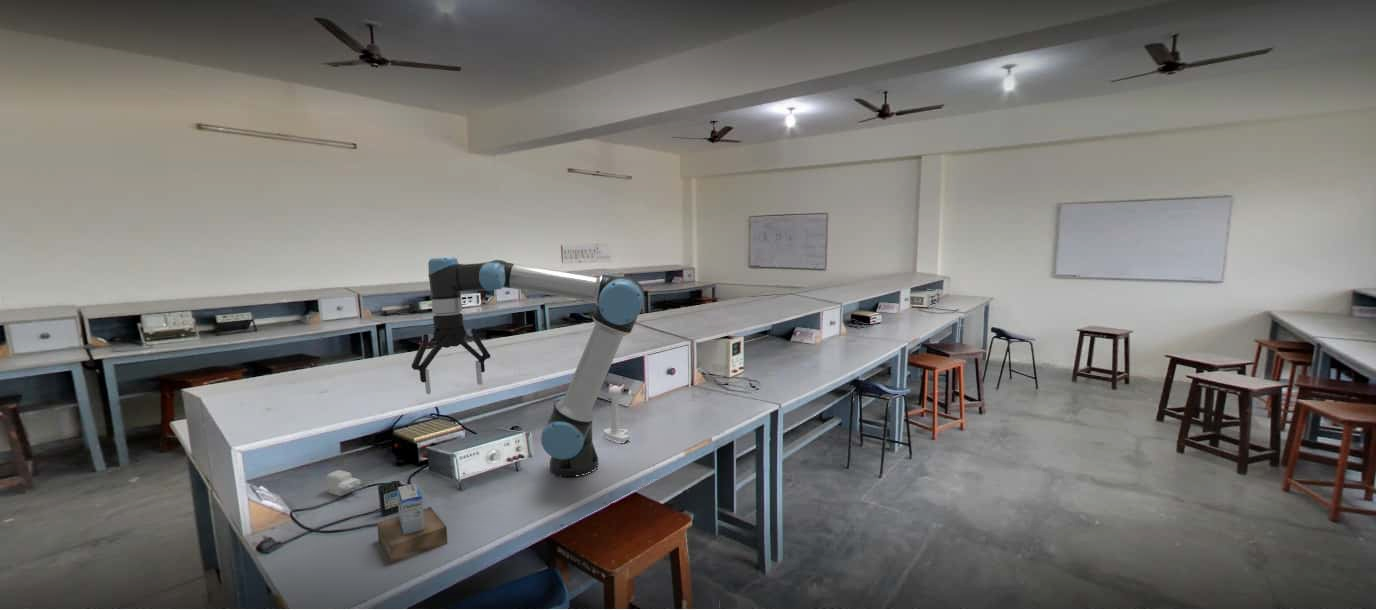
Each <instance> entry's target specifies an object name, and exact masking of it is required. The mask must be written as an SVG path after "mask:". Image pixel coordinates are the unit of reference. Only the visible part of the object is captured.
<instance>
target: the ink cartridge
mask: <svg viewBox="0 0 1376 610" xmlns="http://www.w3.org/2000/svg"><path fill="white" fill-rule="evenodd" d="M401 486H402V484H401V481H400V480H399V479H398V480H392V481H391V482H387V483H382V484H380V485H378V486H377V487H378V488H377V491H378V492H377V493H378V499H379V508H380V509H379V510H380V513H381V515H382V517H387V516H390V515H394V514H396V513H399V510H398V493H397V488H398V487H401Z"/></svg>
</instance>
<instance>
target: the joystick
mask: <svg viewBox="0 0 1376 610" xmlns="http://www.w3.org/2000/svg"><path fill="white" fill-rule="evenodd" d="M621 394H622V389H621V388H620V386H619V385H611V386H610V387H609V389H608V395H609V397H610V398H611V407H610V408H611V413H610V427H608V428H605V429H603V431H602V432H603V433H602V434H603V435H604V436H606V437H608V438H610V439H612V440H616V441H621V442H624V441H626V442H628V441H627V440H629V439H630V440H631V438H630V437H631V436H630V435H629V434H628V433H629V431H628V429H626V428H621V427H620V425H621V424H620V409H619V397H620V396H621Z"/></svg>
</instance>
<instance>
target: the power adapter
mask: <svg viewBox="0 0 1376 610" xmlns="http://www.w3.org/2000/svg"><path fill="white" fill-rule="evenodd" d="M352 476H353V475H352V473H351V472H348V471H345V470H341V469H337V470H335V471H332V472H330V473H328V474H326V488H327V492H328V494H331V495H335V496H338V497H343V496H345V495H347V494H350V493H351V492H353V490H354V491H356V490H357V487H358V486H362V487H364V486H365V485H366V483H364V482H361V481H362V480H360V478H355V477H352Z"/></svg>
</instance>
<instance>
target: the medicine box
mask: <svg viewBox="0 0 1376 610" xmlns="http://www.w3.org/2000/svg"><path fill="white" fill-rule="evenodd" d="M397 493H398V510H399V512H398V517H399V521H400V524H401V527H402V531H403V534H404V535H406V534H410V533H413V532H417V531H420V530H423V529H424V517H423V509H424V502H423V496H422V493H421V491H420V488H419V486H418V483H411V484H410V483H409V484H406V485H401V487H398V488H397Z"/></svg>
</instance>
